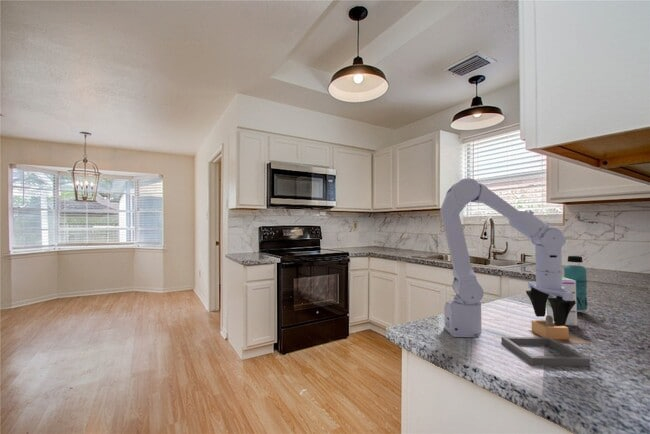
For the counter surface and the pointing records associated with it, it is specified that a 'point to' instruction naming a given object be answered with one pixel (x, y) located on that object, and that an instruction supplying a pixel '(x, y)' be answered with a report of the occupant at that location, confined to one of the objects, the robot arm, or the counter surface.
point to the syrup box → (571, 287)
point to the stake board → (571, 339)
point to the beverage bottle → (578, 281)
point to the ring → (550, 330)
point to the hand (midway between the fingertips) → (549, 320)
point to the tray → (571, 360)
